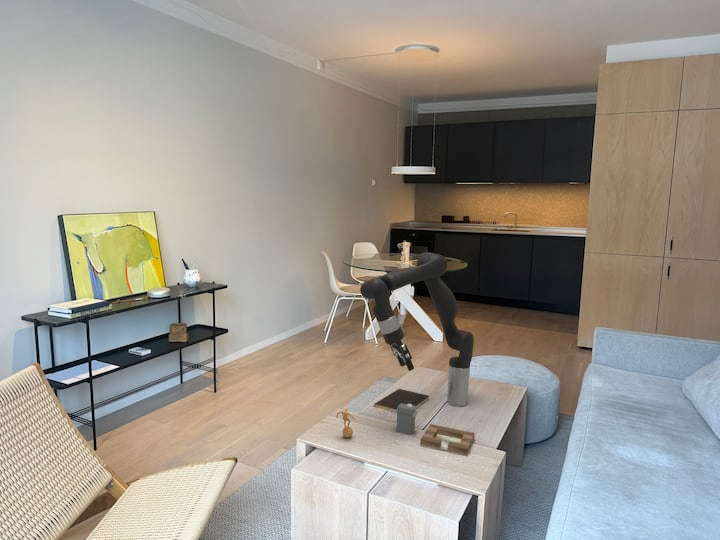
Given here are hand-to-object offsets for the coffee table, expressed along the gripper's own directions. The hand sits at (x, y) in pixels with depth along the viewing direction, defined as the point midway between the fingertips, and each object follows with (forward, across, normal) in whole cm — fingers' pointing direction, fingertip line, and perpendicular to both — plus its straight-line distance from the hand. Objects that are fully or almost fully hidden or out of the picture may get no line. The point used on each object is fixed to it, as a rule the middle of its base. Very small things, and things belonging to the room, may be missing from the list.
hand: (407, 367), depth 193 cm
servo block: (+24, +5, +10) cm, 26 cm away
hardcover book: (+25, +34, 0) cm, 42 cm away
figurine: (+14, +3, +32) cm, 35 cm away
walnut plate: (+30, -6, -1) cm, 31 cm away
